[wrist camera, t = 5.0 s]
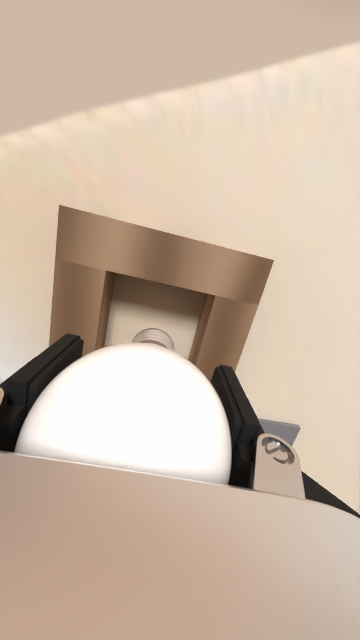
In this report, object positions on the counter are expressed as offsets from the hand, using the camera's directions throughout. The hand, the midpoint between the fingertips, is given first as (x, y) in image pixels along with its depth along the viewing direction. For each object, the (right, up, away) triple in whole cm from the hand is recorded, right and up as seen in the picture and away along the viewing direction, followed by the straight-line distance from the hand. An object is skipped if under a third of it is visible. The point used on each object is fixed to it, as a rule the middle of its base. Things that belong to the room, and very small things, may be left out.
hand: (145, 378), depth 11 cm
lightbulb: (0, +1, +4) cm, 4 cm away
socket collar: (-1, +3, +8) cm, 9 cm away
